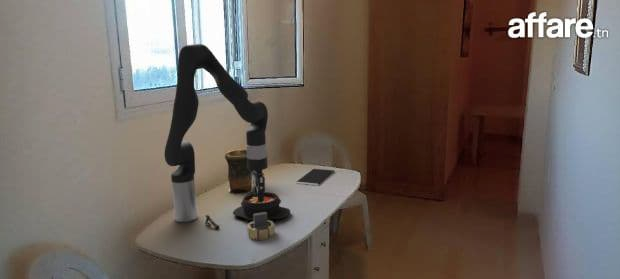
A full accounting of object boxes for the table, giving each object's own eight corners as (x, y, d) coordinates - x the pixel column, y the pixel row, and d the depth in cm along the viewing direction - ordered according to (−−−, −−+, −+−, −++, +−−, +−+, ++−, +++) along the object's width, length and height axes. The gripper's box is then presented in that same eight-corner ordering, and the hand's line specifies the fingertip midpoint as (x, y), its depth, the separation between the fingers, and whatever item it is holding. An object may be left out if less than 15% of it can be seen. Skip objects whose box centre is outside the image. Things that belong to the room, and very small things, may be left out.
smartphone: (294, 185, 230) (294, 182, 230) (313, 171, 254) (313, 168, 254) (318, 187, 225) (318, 184, 225) (335, 172, 250) (335, 170, 249)
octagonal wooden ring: (246, 231, 171) (245, 221, 171) (271, 227, 174) (270, 218, 174) (250, 241, 162) (249, 231, 161) (276, 237, 165) (276, 227, 164)
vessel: (258, 185, 229) (256, 148, 224) (252, 195, 215) (249, 156, 210) (231, 185, 230) (228, 148, 225) (224, 195, 216) (220, 156, 212)
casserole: (296, 210, 193) (295, 192, 191) (282, 226, 175) (281, 207, 173) (243, 206, 199) (242, 188, 198) (225, 222, 182) (224, 203, 180)
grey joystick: (251, 226, 170) (250, 212, 168) (266, 224, 172) (265, 209, 170) (255, 232, 164) (254, 217, 163) (270, 230, 166) (269, 215, 165)
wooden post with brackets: (206, 221, 181) (208, 212, 179) (217, 233, 177) (219, 224, 175) (202, 222, 179) (204, 214, 177) (213, 234, 175) (216, 226, 173)
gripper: (243, 152, 167) (246, 194, 171) (250, 161, 154) (252, 206, 157) (263, 150, 170) (265, 192, 173) (270, 159, 156) (273, 204, 160)
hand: (259, 198), depth 165 cm, fingers open, 5 cm apart
